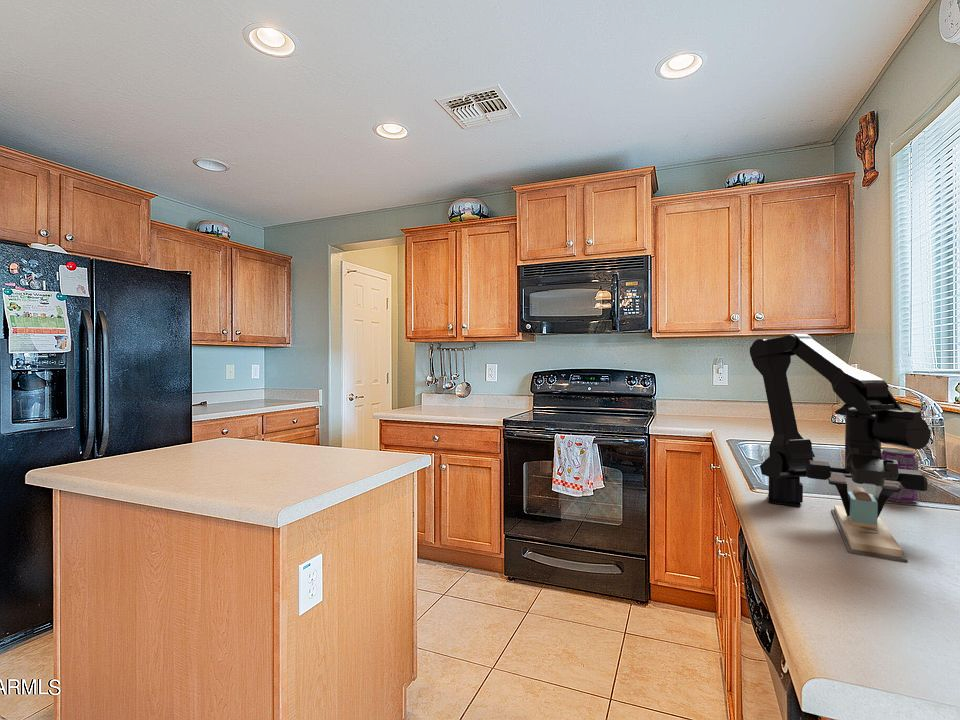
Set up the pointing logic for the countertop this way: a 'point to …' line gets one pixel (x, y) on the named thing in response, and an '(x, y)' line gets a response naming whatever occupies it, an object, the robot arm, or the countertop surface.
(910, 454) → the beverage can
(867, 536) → the board
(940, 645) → the countertop surface
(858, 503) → the teal toaster
